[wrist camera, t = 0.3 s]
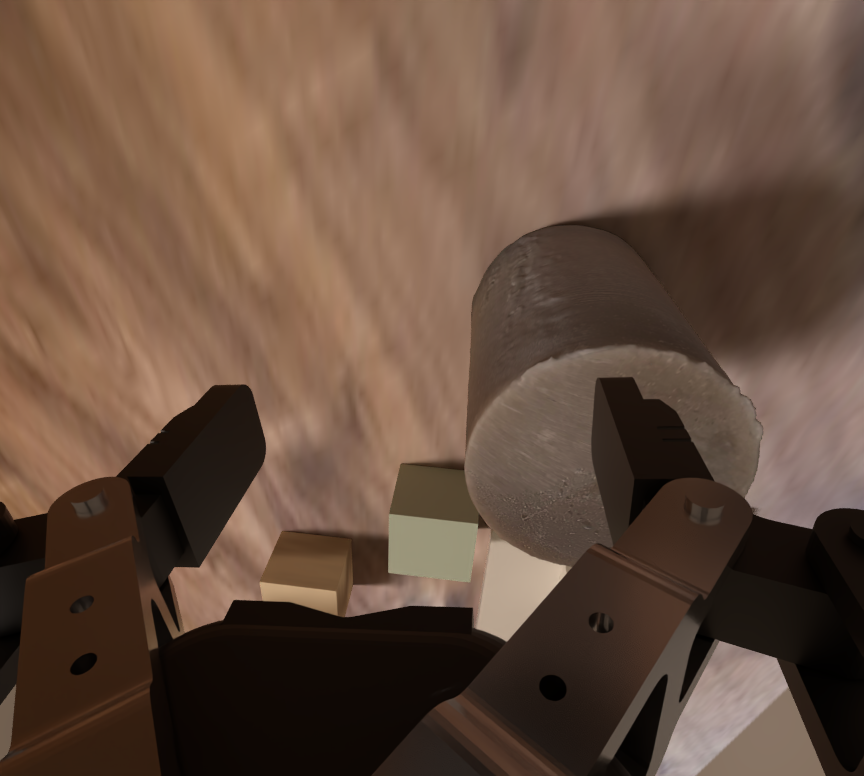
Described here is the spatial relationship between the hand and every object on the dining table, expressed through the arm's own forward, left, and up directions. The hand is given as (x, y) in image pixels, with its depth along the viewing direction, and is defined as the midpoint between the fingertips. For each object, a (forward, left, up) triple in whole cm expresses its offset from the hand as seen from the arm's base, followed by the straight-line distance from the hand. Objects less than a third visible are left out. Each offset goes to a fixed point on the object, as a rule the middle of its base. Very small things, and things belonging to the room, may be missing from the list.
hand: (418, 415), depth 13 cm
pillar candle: (+5, +6, -18) cm, 19 cm away
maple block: (+28, -9, -18) cm, 34 cm away
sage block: (+20, 0, -18) cm, 27 cm away
